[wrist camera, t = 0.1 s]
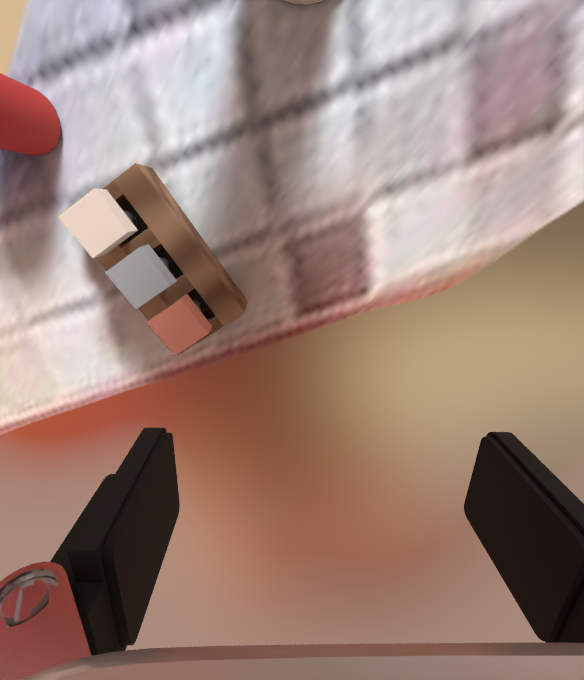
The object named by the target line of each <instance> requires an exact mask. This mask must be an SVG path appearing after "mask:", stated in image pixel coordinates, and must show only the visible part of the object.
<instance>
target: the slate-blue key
mask: <svg viewBox="0 0 584 680" xmlns="http://www.w3.org/2000/svg"><path fill="white" fill-rule="evenodd" d="M171 269H172V267H171V263H170V262H169V261H168V260H167V259H166V258H163V257H158V255H157V254H156V253H155V252H154V250H153V249H152V248H151V246H150V245H149V244H148V245H145V246H141V247H139V248H138V249H136V250H135V251H134V252H132V253H131V254H129V255H128V256H127V257H125V258H124V259H123V260H121V261H120V262H119V263H117V264H116V265H114V266H113V267H112V268H110V269H109V270H108V271H106V272H105V274H106V275H107V276H108V277H109V278H110V279H111V281H112V282H113V283H114V284H115V285H116V287H117V288H118V289H119V290H120V291H121V293H122V294H123V295H124V296H125V297H126V299H127V300H128V301H129V302H130V303H131V304H132V306H133V307H134V308H135V309H137V308H139V307H140V306H142V305H143V304H145V303H146V302H148V301H149V300H150V299H152V298H153V297H155V296H156V295H158V294H159V293H161V292H162V291H163V290H165V289H166V288H168V287H169V286H171V285H172V284H173V283H175V282H176V281H177V280H176V279H175V278H174V276H173V275H172V274H171Z"/></svg>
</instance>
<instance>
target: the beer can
mask: <svg viewBox="0 0 584 680" xmlns="http://www.w3.org/2000/svg"><path fill="white" fill-rule="evenodd" d="M60 132H61V128H60V120H59V118H58V115H57V112H56V110H55V108H54V107H53V105H52V104H51V103H50V101H49V100H48V99H47V98H46V97H45V96H44V95H43V94H41V93H40V92H39V91H37V90H35V89H33V88H31V87H29V86H26V85H24V84H22V83H20V82H18V81H16V80H14V79H11V78H9V77H7V76H5V75H3V74H1V73H0V149H4V150H9V151H14V152H19V153H24V154H29V155H42V154H46V153H48V152H50V151H51V150H52V149H53V148H55V146H56V144H57V143H58V141H59V137H60Z"/></svg>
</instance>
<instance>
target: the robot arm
mask: <svg viewBox="0 0 584 680" xmlns="http://www.w3.org/2000/svg"><path fill="white" fill-rule="evenodd" d="M284 1H287V2H290V3H293V4H304V5H307V4H313V3H318V2H320V1H323V0H284ZM464 511H465V515H466V517H467V519H468V521H469V522H470V524H471V526H472V528H473V529H474V531H475V533H476V534H477V536H478V538H479V539H480V541H481V543H482V544H483V546H484V548H485V549H486V551H487V553H488V554H489V556H490V558H491V560H492V561H493V563H494V565H495V566H496V568H497V570H498V571H499V573H500V575H501V576H502V578H503V580H504V581H505V583H506V585H507V587H508V588H509V590H510V592H511V593H512V595H513V597H514V598H515V600H516V602H517V603H518V605H519V607H520V608H521V610H522V612H523V613H524V615H525V617H526V618H527V620H528V622H529V624H530V625H531V627H532V629H533V630H534V632H535V634H536V635H537V636H538V638H539V639H541V640H542V641H545V642H546V643H396V644H394V643H393V644H310V645H309V644H308V645H247V646H204V647H177V648H151V649H139V650H128V651H125V650H126V647H127V645H133V644H134V643H135V641H136V639H137V636H138V633H139V630H140V627H141V624H142V622H143V619H144V615H145V613H146V610H147V607H148V603H149V600H150V598H151V595H152V592H153V589H154V586H155V583H156V580H157V577H158V574H159V571H160V568H161V565H162V562H163V559H164V556H165V553H166V550H167V547H168V544H169V541H170V538H171V535H172V532H173V529H174V526H175V523H176V520H177V517H178V513H179V494H178V484H177V474H176V464H175V454H174V444H173V436H172V434H171V433H167V432H166V429H165V428H144V429H143V430H142V432H141V434H140V435H139V437H138V438H137V440H136V441H135V443H134V445H133V447H132V448H131V449H130V451H129V453H128V455H127V456H126V458H125V459H124V461H123V462H122V464H121V466H120V467H119V469H118V470H117V472H116V474H110V475H108V476H106V478H105V479H104V480H103V482H102V483H101V485H100V486H99V488H98V489H97V491H96V492H95V494H94V495H93V497H92V498H91V500H90V502H89V503H88V505H87V506H86V508H85V509H84V511H83V512H82V514H81V515H80V517H79V518H78V520H77V521H76V523H75V524H74V526H73V528H72V529H71V531H70V532H69V534H68V535H67V537H66V538H65V540H64V541H63V543H62V544H61V546H60V547H59V549H58V551H57V552H56V554H55V555H54V557H53V558H52V560H51V561H50V562H39V563H34V564H30V565H28V566H25V567H23V568H20V569H19V570H17V571H15V572H13V573H12V574H10V575H8V576H7V577H5V578H4V579H3V580H2V581H0V680H584V504H583V503H582V502H581V501H580V500H579V499H578V498H577V497H576V496H575V495H574V494H573V493H572V492H571V491H570V490H569V489H568V488H567V487H566V486H565V485H564V484H563V483H562V482H561V481H560V480H559V479H558V478H557V477H556V476H555V475H554V474H553V473H552V472H551V471H550V470H549V469H548V468H547V467H546V466H545V465H544V464H542V463H541V461H540V460H538V458H537V457H536V456H535V455H533V453H532V452H531V451H529V449H527V447H525V446H524V445H523V444H522V443H521V442H520V441H519V440H518V439H517V438H516V437H515V436H514V435H513V434H512V433H509V432H490V433H488V434H487V436H486V437H483V438H482V440H481V443H480V446H479V450H478V454H477V458H476V462H475V465H474V469H473V473H472V477H471V481H470V485H469V488H468V492H467V496H466V499H465V504H464Z"/></svg>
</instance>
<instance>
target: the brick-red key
mask: <svg viewBox="0 0 584 680" xmlns="http://www.w3.org/2000/svg"><path fill="white" fill-rule="evenodd" d="M202 313H203V305H202V304H201V303H200V302H199V301H197V300H191V298H190V297H189V296H188V294H185V295H184V296H182V297H181V298H180V299H178V300H177V301H175V302H174V303H172V304H171V305H169V306H168V307H166V308H165V309H163V310H162V311H160V312H159V313H157V314H156V315H155V316H153V317H152V318H151V319H150V320H149V321H148V322H147V323H148V325H149V326H150V327H151V328H152V329H153V331H154V332H155V333H156V334H157V335H158V337H159V338H160V339H161V340H162V341H163V343H164V344H165V345H166V346H167V347H168V348H169V350H170V351H171V352H172V353H173V354H174V356H175V355H177V354H178V353H180V352H181V351H183V350H184V349H186V348H187V347H189V346H190V345H192V344H194V343H195V342H197V341H198V340H200V339H201V338H203V337H204V336H206V335H207V334H208V333H209V332H210V330H211V328H212V325H211V324H210V323H209V322H208V320H207V319H206V318H205V316H204V315H203V314H202Z"/></svg>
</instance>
